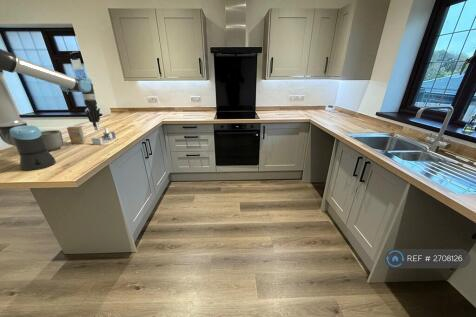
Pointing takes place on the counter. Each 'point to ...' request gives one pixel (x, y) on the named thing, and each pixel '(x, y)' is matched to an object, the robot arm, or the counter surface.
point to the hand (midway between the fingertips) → (97, 130)
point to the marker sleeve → (107, 133)
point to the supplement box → (76, 134)
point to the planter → (52, 139)
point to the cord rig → (99, 140)
